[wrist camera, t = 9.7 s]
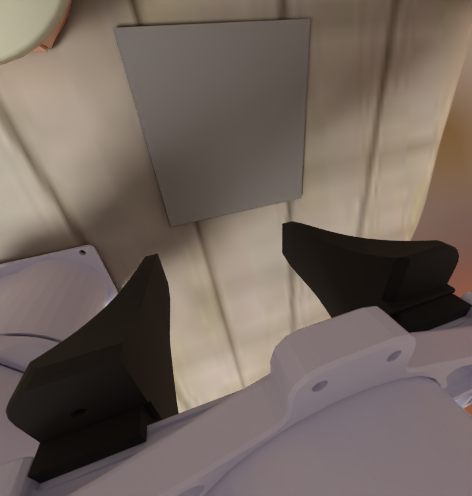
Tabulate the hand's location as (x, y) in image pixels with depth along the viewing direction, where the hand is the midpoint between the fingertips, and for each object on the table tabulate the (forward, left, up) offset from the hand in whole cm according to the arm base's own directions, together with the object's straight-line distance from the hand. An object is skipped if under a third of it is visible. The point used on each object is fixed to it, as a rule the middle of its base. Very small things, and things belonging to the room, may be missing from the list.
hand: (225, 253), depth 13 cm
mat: (+4, +5, -10) cm, 12 cm away
